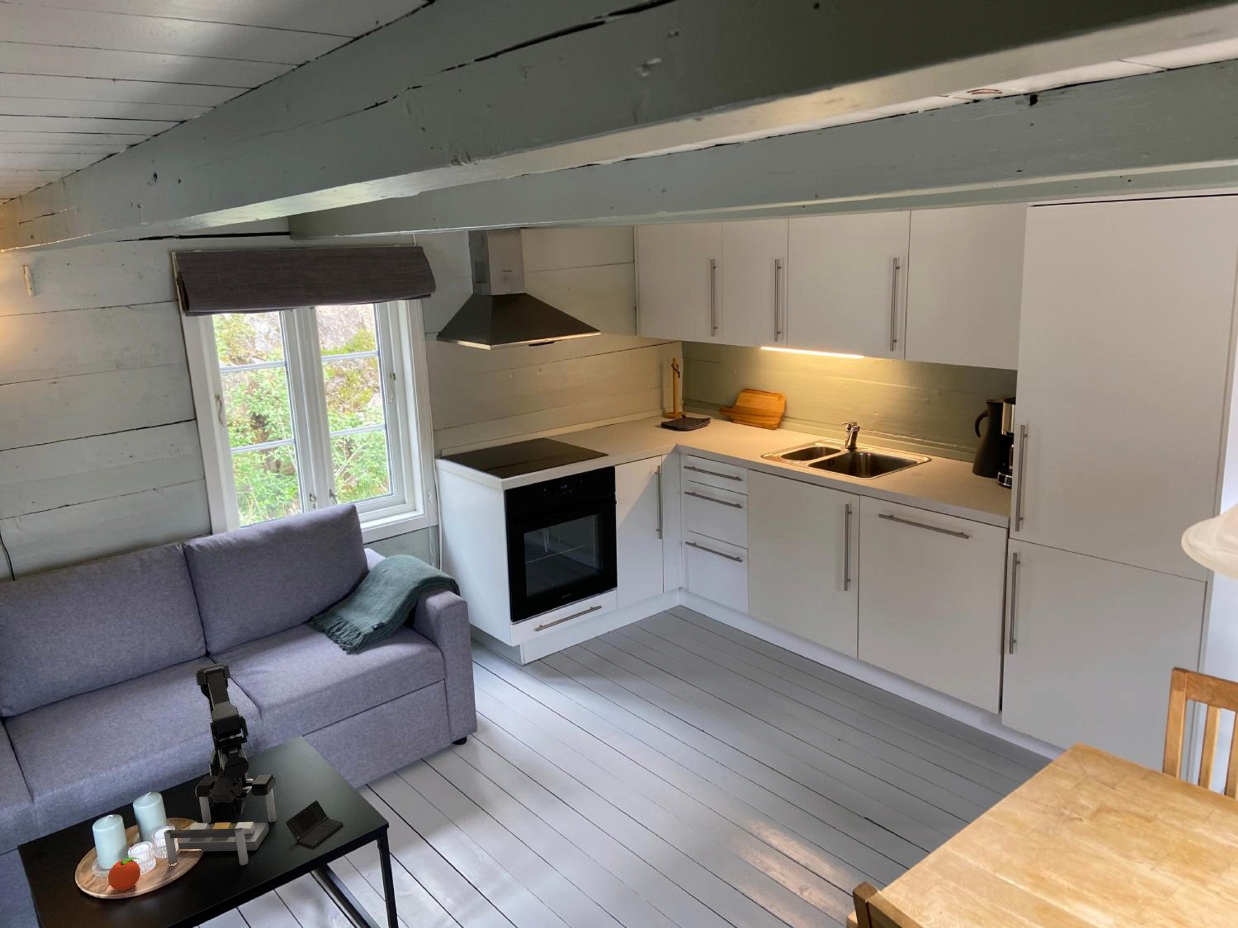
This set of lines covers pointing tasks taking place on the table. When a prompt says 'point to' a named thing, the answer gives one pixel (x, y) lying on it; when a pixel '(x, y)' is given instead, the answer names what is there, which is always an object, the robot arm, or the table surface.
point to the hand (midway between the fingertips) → (240, 814)
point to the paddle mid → (222, 826)
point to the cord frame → (215, 830)
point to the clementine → (124, 874)
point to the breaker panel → (226, 840)
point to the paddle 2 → (246, 827)
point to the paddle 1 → (200, 826)
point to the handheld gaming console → (312, 825)
